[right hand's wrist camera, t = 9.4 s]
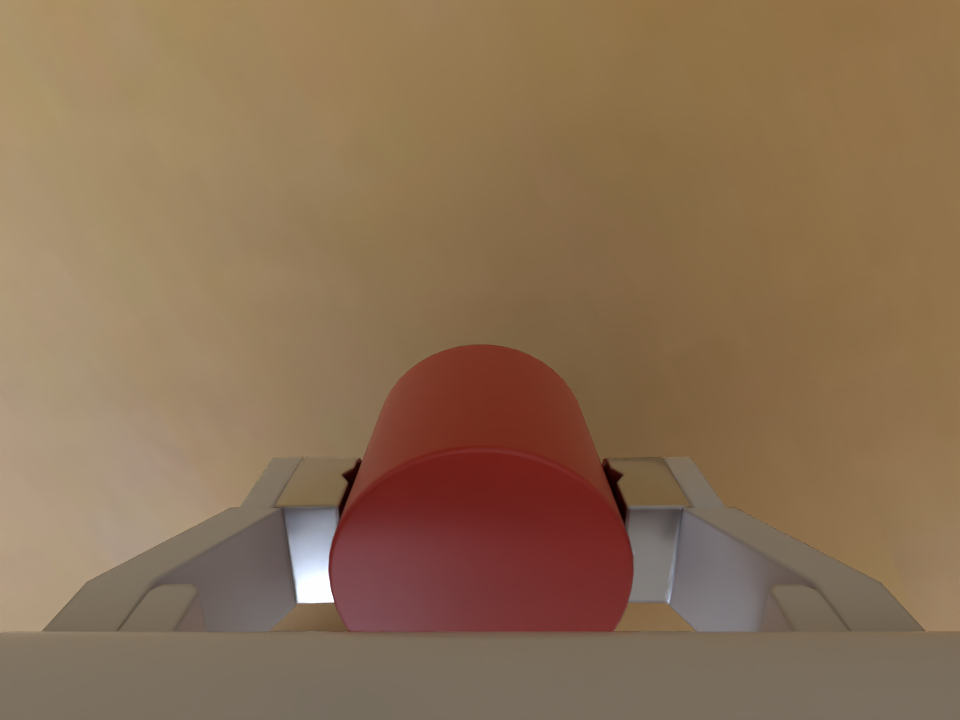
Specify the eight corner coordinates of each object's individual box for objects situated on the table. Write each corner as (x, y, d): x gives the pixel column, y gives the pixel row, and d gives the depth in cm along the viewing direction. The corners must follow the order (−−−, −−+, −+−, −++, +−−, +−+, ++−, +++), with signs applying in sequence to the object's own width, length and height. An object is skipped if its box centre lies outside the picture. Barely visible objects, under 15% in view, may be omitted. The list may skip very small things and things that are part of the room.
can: (532, 306, 11) (560, 395, 7) (616, 481, 12) (679, 636, 8) (338, 398, 11) (265, 525, 8) (438, 554, 13) (419, 729, 9)
